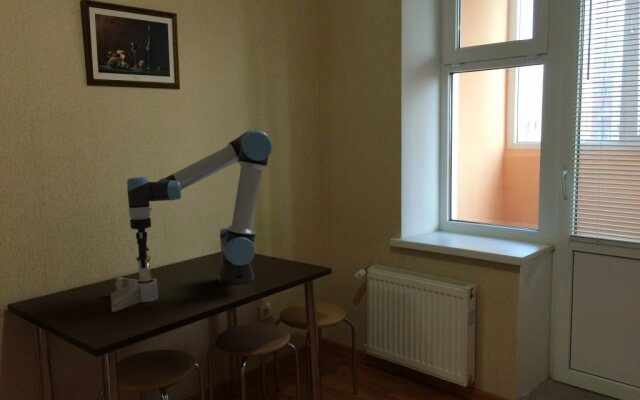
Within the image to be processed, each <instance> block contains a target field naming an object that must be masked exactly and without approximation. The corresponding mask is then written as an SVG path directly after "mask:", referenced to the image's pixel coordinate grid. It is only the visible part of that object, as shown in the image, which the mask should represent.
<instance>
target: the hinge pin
mask: <svg viewBox="0 0 640 400" xmlns="http://www.w3.org/2000/svg"><path fill="white" fill-rule="evenodd" d="M146 257H147V258H146V259H147V268H148V276H143V277H140V265H139V260H137V258H139V256H137V257H135V259H136V262H137V263H138V274H139V280H140V283H141V284H143V283H150V282H151V278H152V276H151V268H150V267H151V265H150V264H151V263H150V261H151V260H152V259H151V257H152V256H151V255H148V256H146Z"/></svg>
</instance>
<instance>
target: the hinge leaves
mask: <svg viewBox="0 0 640 400" xmlns="http://www.w3.org/2000/svg"><path fill="white" fill-rule="evenodd" d="M137 280H138V279H134V278H127V277H119V276H116V277H114V283H115V291H112V292H110V301H111V302H110V305H111V312H113V313H115V312H119V311H120V310H123V309H125V308H129V307H131V306H134V305H136V304H138V303H141V302H140V299H139V287H138V284H135V285H134V281H137Z"/></svg>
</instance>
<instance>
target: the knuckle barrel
mask: <svg viewBox="0 0 640 400" xmlns="http://www.w3.org/2000/svg"><path fill="white" fill-rule="evenodd" d="M136 280H137V281H134V285H135V284H138V287H139V299H140V302H139V303H147V302H153V301H156V300H158V299H159V290H158V279H157V278H152V277H151V282H150V283H143V284H141V283H140V279H136Z"/></svg>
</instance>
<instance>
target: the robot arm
mask: <svg viewBox="0 0 640 400" xmlns="http://www.w3.org/2000/svg"><path fill="white" fill-rule="evenodd" d="M272 151H273V142H272V140H271V138H270V136H269V135H268V134H267V133H266V132H264V131H262V130H259V129H251V130H247V131H245V132H244V133H242V134H241V135H239V136H238V137H236V138H235V139H233V140H231V141H230V142H228V144H227V146H225V147H223V148H221V149H219V150H217V151H216V152H214V153H211V154H209V155H207V156H206V157H203V158H202V159H199V160H198V161H196V162H193V163H192V164H190V165H187V166H185V167H183V168H182V169H179V170H177V171H175V172H174V173H172V174H169V175H167V176H166V177H162V178H161V179H159V180H158V181H149V179H148V177H146V176H139V177H137V176H136V177H130V178H128V179H127V180H126V186H127V187H126V188H127V191H126V192H127V201H128V214H129V215H128V216H129V218H130V220H129V223H130V229H132V230H137V232H136V233H135V237H136V244H137V247H138V257H139V258H137V257H136V258H137V259H136V261H137V260H139V263H138V266H139V265H140V275H139V278H140V277H143V276H148V268H147V259H146V258H147V257H146V256H149V255H148V252H149V251H150V249H149V247H148V246H147V243H148V242H147V241H148V231H146V229H149V228H151V227H152V220H151V217H150V216H151V212H152V208H151V207H150V202H160V201H161V202H162V201H171V202H172V201H175V200H176V201H177V200H180V199H181V198H182V193H181V192H182V190H185V189H186V188H188V187H190V186H193V185H194V184H196V183H198V182H200V181H202V180H204V179H206V178H208V177H209V176H212V175H214V174H216V173H218V172H220V171H221V170H223V169H226V168H228V167H230V166H231V165H234V164H235V163H237V164H239V165H240V171H239V177H238V182H237V183H238V184H237V188H236V189H237V190H236V196H235V203H234V207H233V208H234V209H233V214H232V220H231V225H230V226H228V227H226V228H225V227H224V228H221V229H220V230H219V239H220V240H219V241H220V242H219V243H220V254H221V255H220V256H221V266H220V270H219V274H218V283H220V284H222V285H242V284H246V283H250V282H251V281H253V280H254V279H255V274H254V271H253V268H252V265H251V261H252V260H253V258H254V257H255V253H256V247H255V240H256V234H257V232H256V230H254V222H255V216H256V213H257V212H256V210H257V206H258V200H259V194H260V187H261V182H262V181H261V180H262V174H263V170H265V168H267V167H268V162H269V157H270V155H271V153H272Z"/></svg>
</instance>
